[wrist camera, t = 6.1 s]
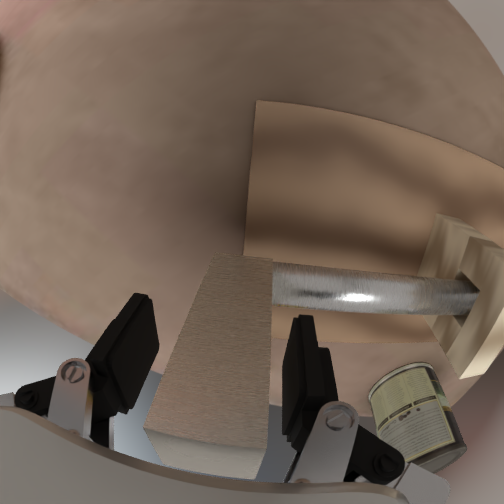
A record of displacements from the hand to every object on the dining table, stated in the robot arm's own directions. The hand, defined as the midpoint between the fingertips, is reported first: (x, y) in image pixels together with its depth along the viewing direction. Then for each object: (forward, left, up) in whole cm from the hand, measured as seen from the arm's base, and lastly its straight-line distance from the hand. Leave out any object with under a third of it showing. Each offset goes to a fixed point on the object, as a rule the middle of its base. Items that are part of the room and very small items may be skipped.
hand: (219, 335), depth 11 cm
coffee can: (+20, +23, -13) cm, 33 cm away
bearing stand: (0, +16, -13) cm, 20 cm away
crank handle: (0, +8, -6) cm, 10 cm away
